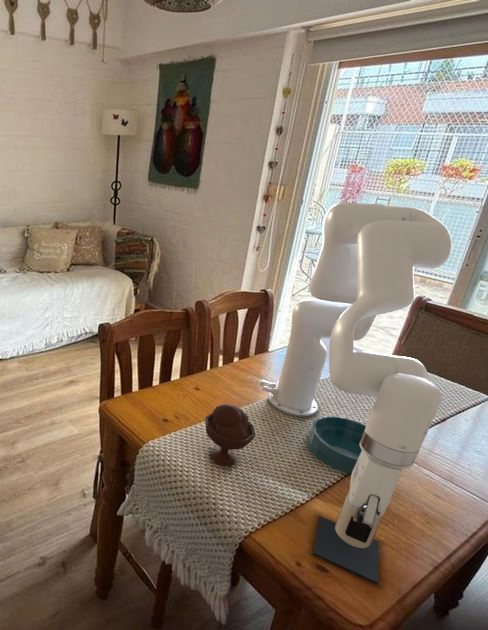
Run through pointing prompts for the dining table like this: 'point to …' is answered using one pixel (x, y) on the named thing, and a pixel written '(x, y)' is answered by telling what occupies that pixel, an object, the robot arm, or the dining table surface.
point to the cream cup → (344, 520)
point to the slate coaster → (346, 552)
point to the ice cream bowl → (228, 432)
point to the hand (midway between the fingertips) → (356, 524)
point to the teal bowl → (337, 441)
